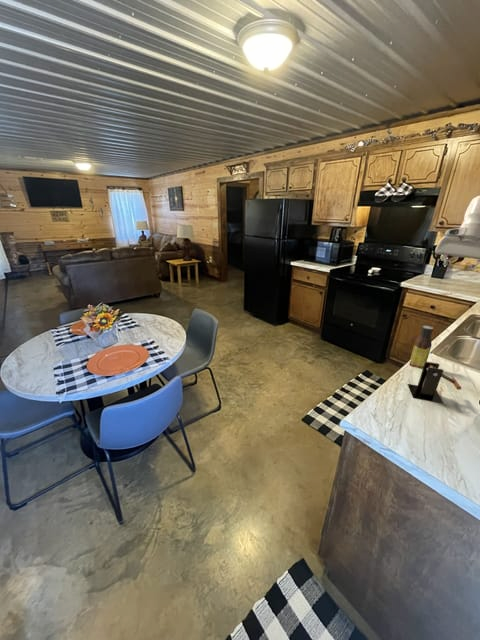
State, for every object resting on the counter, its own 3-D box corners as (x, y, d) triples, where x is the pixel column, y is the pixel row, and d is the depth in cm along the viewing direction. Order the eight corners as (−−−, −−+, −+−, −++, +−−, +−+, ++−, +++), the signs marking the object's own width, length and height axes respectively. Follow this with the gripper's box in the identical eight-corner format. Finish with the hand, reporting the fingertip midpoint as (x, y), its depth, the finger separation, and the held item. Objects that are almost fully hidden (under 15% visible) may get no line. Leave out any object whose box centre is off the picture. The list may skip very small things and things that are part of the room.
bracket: (434, 391, 106) (445, 362, 100) (442, 406, 98) (454, 375, 92) (406, 386, 109) (415, 357, 103) (412, 400, 101) (422, 370, 95)
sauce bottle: (426, 371, 119) (439, 331, 111) (410, 368, 120) (422, 329, 113) (422, 363, 124) (434, 325, 116) (407, 361, 126) (418, 323, 118)
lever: (450, 380, 101) (455, 376, 100) (458, 391, 95) (463, 387, 94) (424, 365, 102) (428, 361, 101) (429, 375, 96) (434, 371, 95)
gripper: (502, 239, 106) (489, 273, 108) (441, 234, 117) (430, 264, 119) (506, 235, 101) (492, 270, 103) (442, 229, 112) (430, 261, 114)
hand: (458, 267), depth 111 cm, fingers open, 8 cm apart
